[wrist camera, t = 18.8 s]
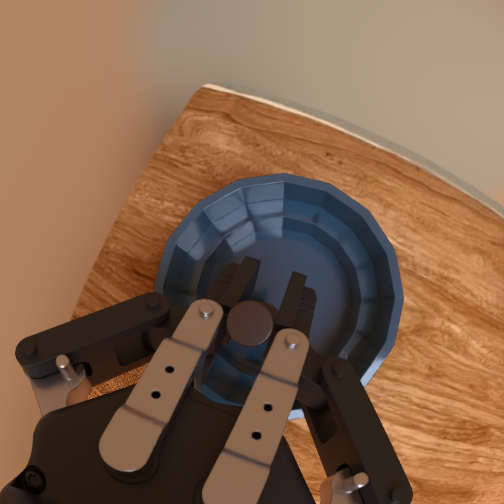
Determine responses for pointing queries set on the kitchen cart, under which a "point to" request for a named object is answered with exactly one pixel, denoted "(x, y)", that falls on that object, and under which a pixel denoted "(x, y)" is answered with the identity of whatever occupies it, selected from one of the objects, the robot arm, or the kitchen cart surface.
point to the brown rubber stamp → (251, 322)
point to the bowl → (290, 271)
